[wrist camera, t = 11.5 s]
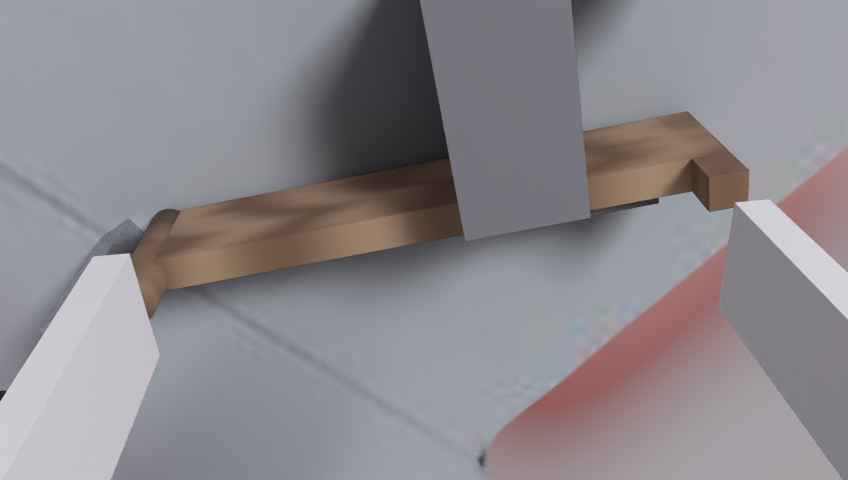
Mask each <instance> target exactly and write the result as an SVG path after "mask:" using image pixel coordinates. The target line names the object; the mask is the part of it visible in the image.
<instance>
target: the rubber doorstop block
mask: <svg viewBox="0 0 848 480" xmlns="http://www.w3.org/2000/svg"><path fill="white" fill-rule="evenodd" d="M420 6H421V11H422V16H423V22H424V27H425V32H426V37H427V43H428V48H429V53H430V59H431V64H432V69H433V75H434V80H435V85H436V91H437V96H438V101H439V107H440V112H441V117H442V122H443V128H444V133H445V138H446V144H447V149H448V154H449V160H450V165H451V170H452V175H453V180H454V185H455V191H456V196H457V201H458V206H459V211H460V217H461V222H462V227H463V232H464V237H465V241H470V240H475V239H481V238H486V237H491V236H497V235H502V234H507V233H512V232H518V231H523V230H528V229H534V228H539V227H544V226H550V225H555V224H560V223H565V222H571V221H576V220H581V219H587V218H591V217H590V206H589V195H588V183H587V172H586V161H585V150H584V139H583V127H582V116H581V105H580V94H579V83H578V71H577V60H576V49H575V38H574V27H573V16H572V4H571V0H420Z"/></svg>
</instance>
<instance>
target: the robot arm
mask: <svg viewBox="0 0 848 480" xmlns="http://www.w3.org/2000/svg"><path fill="white" fill-rule="evenodd" d="M718 307H719V309H720V310H721V311H722V313H723V314H724V316H725V317H726V318H727V320H728V321H729V323H730V324H731V325H732V327H733V328H734V330H735V331H736V332H737V334H738V335H739V337H740V338H741V339H742V341H743V342H744V343H745V345H746V346H747V348H748V349H749V350H750V352H751V353H752V355H753V356H754V357H755V359H756V360H757V361H758V363H759V364H760V366H761V367H762V368H763V370H764V371H765V373H766V374H767V375H768V377H769V378H770V379H771V381H772V382H773V384H774V385H775V386H776V388H777V389H778V391H779V392H780V393H781V395H782V396H783V397H784V399H785V400H786V402H787V403H788V404H789V406H790V407H791V409H792V410H793V411H794V413H795V414H796V415H797V417H798V418H799V420H800V421H801V422H802V424H803V425H804V426H805V428H806V429H807V431H808V432H809V433H810V435H811V436H812V438H813V439H814V440H815V441H816V443H817V445H818V446H819V447H820V449H821V450H822V451H823V453H824V454H825V456H826V457H827V458H828V460H829V461H830V462H831V464H832V465H833V467H834V468H835V469H836V471H837V472H838V474H839V475H840V476H841V478H842V479H843V480H848V273H847V272H846V271H845V270H844V269H843V268H842V267H841V266H840V265H839V264H837V263H836V262H835V261H834V260H833V259H832V258H831V257H830V256H829V255H828V254H827V253H826V252H825V251H824V250H823V249H821V248H820V247H819V246H818V245H817V244H816V243H815V242H814V241H813V240H812V239H811V238H810V237H809V236H808V235H807V234H806V233H804V232H803V231H802V230H801V229H800V228H799V227H798V226H797V225H796V224H795V223H794V222H793V221H792V220H791V219H789V218H788V217H787V216H786V215H785V214H784V213H783V212H782V211H781V210H780V209H779V208H778V207H777V206H776V205H775V204H774V203H772V202H771V201H770V200H758V201H746V202H735V204H734V210H733V217H732V223H731V229H730V235H729V241H728V248H727V254H726V260H725V266H724V273H723V279H722V285H721V291H720V298H719V304H718ZM159 356H160V355H159V352H158V348H157V345H156V341H155V338H154V335H153V331H152V328H151V324H150V321H149V318H148V314H147V311H146V308H145V304H144V301H143V297H142V294H141V291H140V287H139V284H138V281H137V277H136V274H135V270H134V267H133V264H132V260H131V257H130V253H128V254H116V255H104V256H93V258H92V259H91V261H90V262H89V264H88V266H87V267H86V269H85V270H84V272H83V273H82V275H81V276H80V278H79V280H78V281H77V283H76V284H75V286H74V287H73V289H72V291H71V292H70V294H69V295H68V297H67V298H66V300H65V301H64V303H63V305H62V306H61V308H60V309H59V311H58V312H57V314H56V315H55V317H54V319H53V320H52V322H51V323H50V325H49V326H48V328H47V330H46V331H45V333H44V334H43V336H42V337H41V339H40V340H39V342H38V344H37V345H36V347H35V348H34V350H33V351H32V353H31V354H30V356H29V358H28V359H27V361H26V362H25V364H24V365H23V367H22V368H21V370H20V372H19V373H18V375H17V376H16V378H15V379H14V381H13V383H12V384H11V386H10V387H9V389H8V390H7V391H0V480H111V478H112V475H113V473H114V470H115V468H116V465H117V463H118V460H119V457H120V455H121V452H122V450H123V447H124V445H125V442H126V440H127V437H128V435H129V432H130V430H131V427H132V425H133V422H134V420H135V417H136V415H137V412H138V409H139V407H140V404H141V402H142V399H143V397H144V394H145V392H146V389H147V387H148V384H149V382H150V379H151V377H152V374H153V372H154V369H155V367H156V364H157V361H158V359H159Z"/></svg>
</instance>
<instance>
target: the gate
mask: <svg viewBox="0 0 848 480" xmlns="http://www.w3.org/2000/svg"><path fill="white" fill-rule="evenodd" d="M583 139H584V150H585V161H586V172H587V183H588V195H589V206H590V210H591V212H592V214H593V215H599V214H604V213H609V212H615V211H620V210H625V209H631V208H636V207H641V206H647V205H652V204H657V203H659V197H664V196H670V195H675V194H680V193H686V192H691V191H692V192H693V193H694V194H695V195H696V197H697V198H698V199H699V200H700V201H701V203H702V204H703V205H704V206H705V207H706V209H707V210H708V211H709V212H713V211H718V210H723V209H729V208H734V204H735V202H746V201H748V188H749V170H748V169H747V168H746V167H745V166H744V165H743V164H742V163H741V162H740V161H739V160H738V159H737V158H736V157H735V156H734V155H733V154H732V153H730V152H729V151H728V150H727V149H726V148H725V147H724V146H723V145H722V144H721V143H720V142H719V141H718V140H717V139H716V138H715V137H714V136H713V135H712V134H711V133H710V132H709V131H708V130H706V129H705V128H704V127H703V126H702V125H701V124H700V123H699V122H698V121H697V120H696V119H695V118H694V117H693V116H692V115H691V114H690V113H689V112H688V111H687V112H682V113H677V114H672V115H667V116H661V117H656V118H651V119H646V120H641V121H636V122H631V123H625V124H620V125H615V126H610V127H605V128H600V129H595V130H590V131H584V132H583ZM463 234H464V232H463V227H462V222H461V217H460V211H459V206H458V201H457V196H456V191H455V185H454V180H453V175H452V170H451V165H450V160H449V158H446V159H441V160H436V161H430V162H425V163H420V164H415V165H410V166H405V167H400V168H394V169H389V170H384V171H379V172H374V173H369V174H364V175H358V176H353V177H348V178H343V179H338V180H333V181H328V182H323V183H317V184H312V185H307V186H302V187H297V188H292V189H287V190H281V191H276V192H271V193H266V194H261V195H256V196H251V197H246V198H240V199H235V200H230V201H225V202H220V203H215V204H210V205H204V206H199V207H194V208H189V209H184V210H181V211H178V210H174V209H165V210H162V211H160V212H158V213H157V214H156V215H155V216H154V218H153V219H152V221H151V223H150V225H149V226H148V228H147V230H146V231H145V233H144V235H143V237H142V238H141V240H140V242H139V244H138V245H137V247H136V249H135V250H134V252H133V254H132V256H131V260H132V264H133V267H134V270H135V274H136V277H137V281H138V284H139V287H140V291H141V294H142V297H143V301H144V304H145V308H146V311H147V314H148V318H149V319H150V318H151V317H152V316H153V315H154V313H155V311H156V309H157V306H158V304H159V302H160V300H161V298H162V296H163V294H164V291H165V289H167V290H173V289H178V288H183V287H188V286H194V285H199V284H204V283H210V282H215V281H220V280H225V279H231V278H236V277H241V276H247V275H252V274H257V273H263V272H268V271H273V270H278V269H284V268H289V267H294V266H300V265H305V264H310V263H315V262H321V261H326V260H331V259H337V258H342V257H347V256H352V255H358V254H363V253H368V252H374V251H379V250H384V249H389V248H395V247H400V246H405V245H411V244H416V243H421V242H426V241H432V240H437V239H442V238H448V237H453V236H458V235H463Z"/></svg>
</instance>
